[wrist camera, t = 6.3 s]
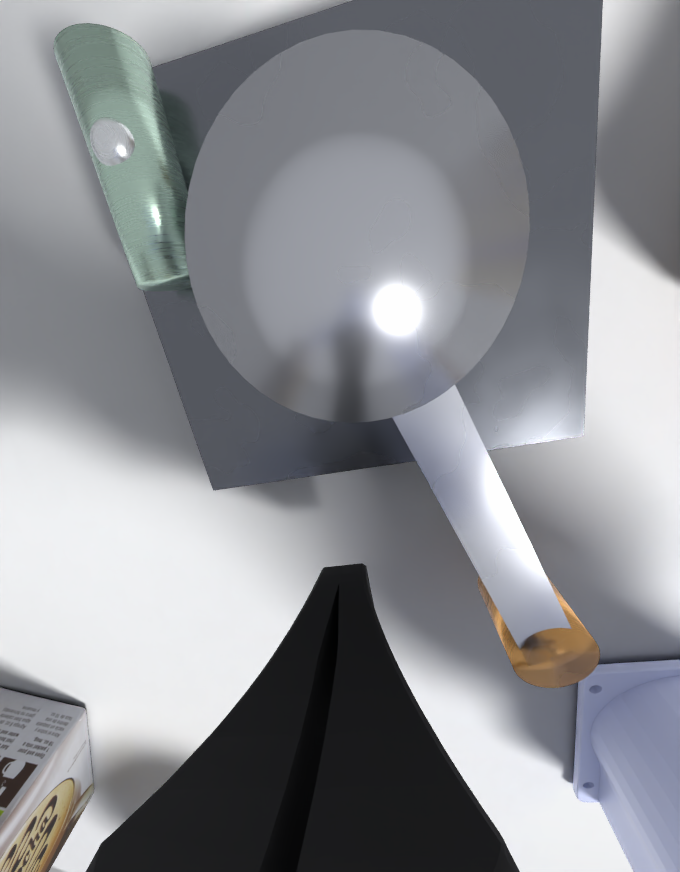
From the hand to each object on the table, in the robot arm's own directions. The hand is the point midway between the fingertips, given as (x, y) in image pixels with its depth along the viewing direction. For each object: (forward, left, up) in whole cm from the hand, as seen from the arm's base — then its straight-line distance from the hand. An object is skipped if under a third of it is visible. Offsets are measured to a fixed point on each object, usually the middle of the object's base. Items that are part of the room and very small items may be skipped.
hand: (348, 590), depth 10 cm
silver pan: (+5, -3, -1) cm, 6 cm away
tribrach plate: (+9, -2, -3) cm, 10 cm away
